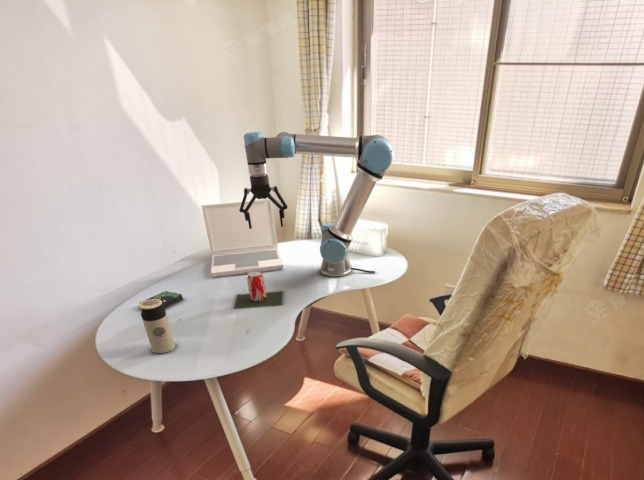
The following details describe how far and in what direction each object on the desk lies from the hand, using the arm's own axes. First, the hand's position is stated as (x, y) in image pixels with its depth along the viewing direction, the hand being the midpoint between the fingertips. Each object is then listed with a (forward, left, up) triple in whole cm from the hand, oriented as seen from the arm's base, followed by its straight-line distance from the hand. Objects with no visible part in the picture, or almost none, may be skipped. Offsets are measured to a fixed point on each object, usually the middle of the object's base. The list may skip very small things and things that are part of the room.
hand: (266, 227), depth 200 cm
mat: (+6, +16, -27) cm, 32 cm away
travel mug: (+38, +53, -27) cm, 71 cm away
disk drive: (+48, +13, -27) cm, 57 cm away
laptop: (+15, -29, -27) cm, 42 cm away
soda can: (+6, +16, -27) cm, 32 cm away
